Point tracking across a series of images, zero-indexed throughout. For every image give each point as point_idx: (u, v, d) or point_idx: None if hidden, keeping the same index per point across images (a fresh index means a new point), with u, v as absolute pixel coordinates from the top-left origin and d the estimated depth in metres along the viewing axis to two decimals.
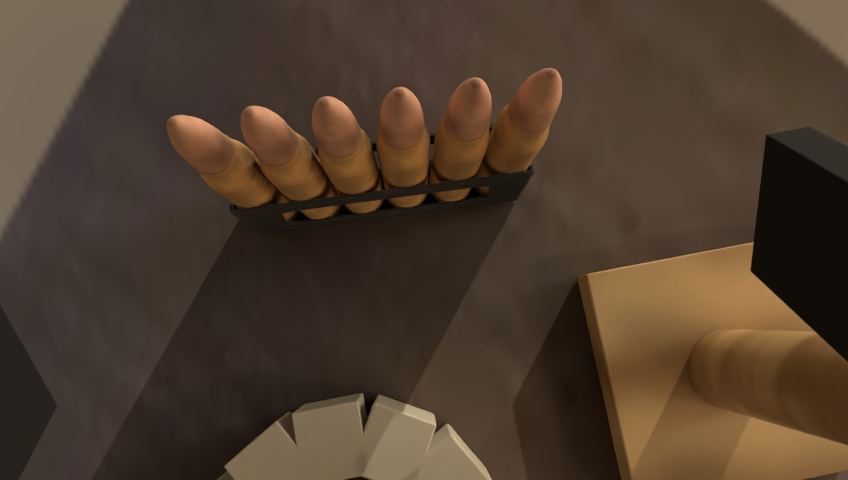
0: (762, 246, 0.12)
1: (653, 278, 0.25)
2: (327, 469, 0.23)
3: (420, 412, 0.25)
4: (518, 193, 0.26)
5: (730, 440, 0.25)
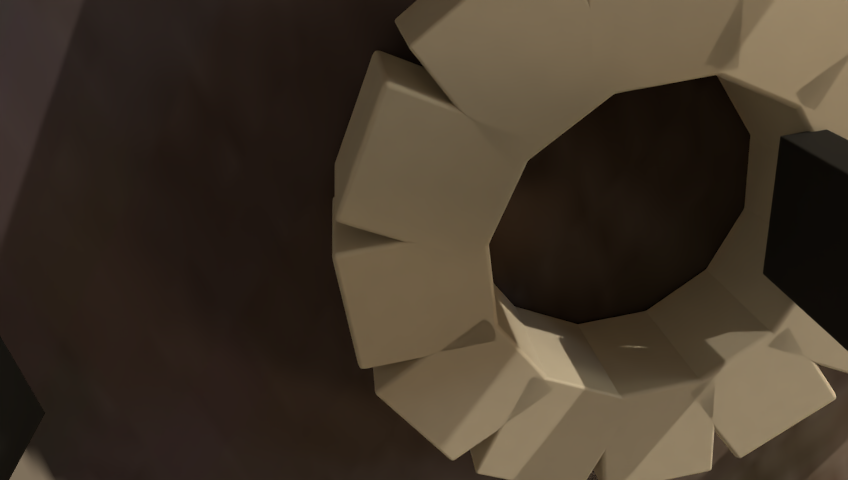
0: (775, 249, 0.12)
1: None
2: (650, 58, 0.10)
3: None
4: None
5: None
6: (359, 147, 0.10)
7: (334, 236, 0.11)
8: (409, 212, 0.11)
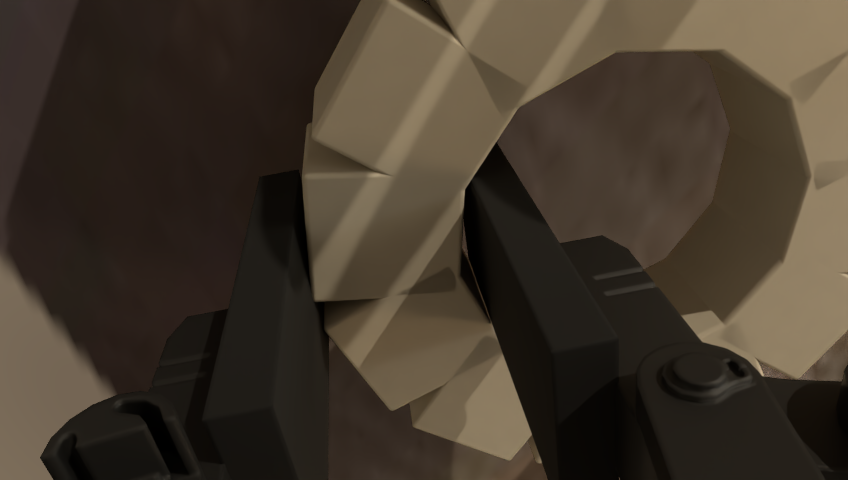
0: (467, 238, 0.13)
1: None
2: (657, 21, 0.10)
3: None
4: None
5: None
6: (349, 63, 0.10)
7: (306, 158, 0.11)
8: (390, 142, 0.10)
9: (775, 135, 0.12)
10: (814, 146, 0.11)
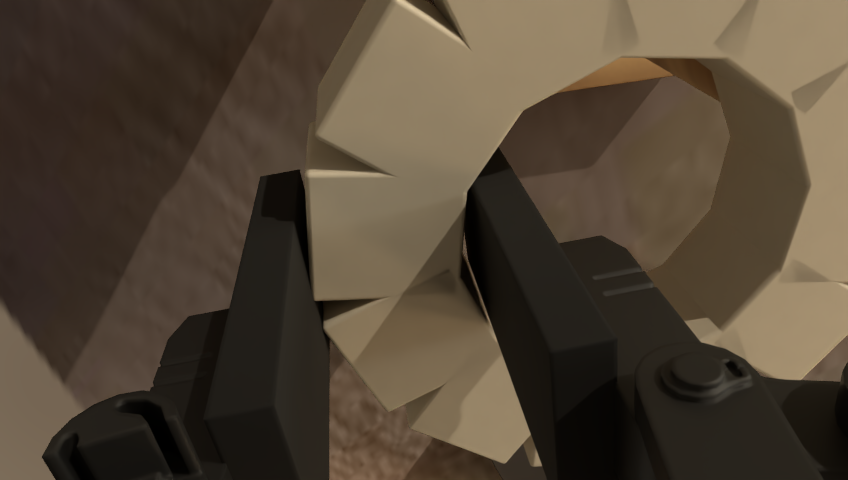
0: (467, 238, 0.13)
1: None
2: (663, 27, 0.10)
3: None
4: None
5: None
6: (355, 62, 0.10)
7: (308, 157, 0.11)
8: (393, 142, 0.10)
9: (775, 144, 0.12)
10: (814, 155, 0.11)
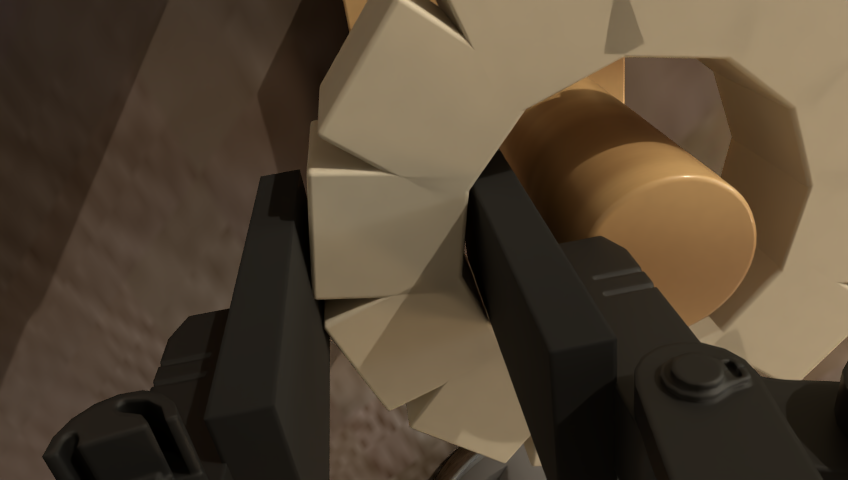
0: (466, 238, 0.13)
1: None
2: (665, 27, 0.10)
3: None
4: None
5: None
6: (357, 61, 0.10)
7: (310, 155, 0.11)
8: (396, 141, 0.10)
9: (777, 144, 0.12)
10: (816, 156, 0.11)
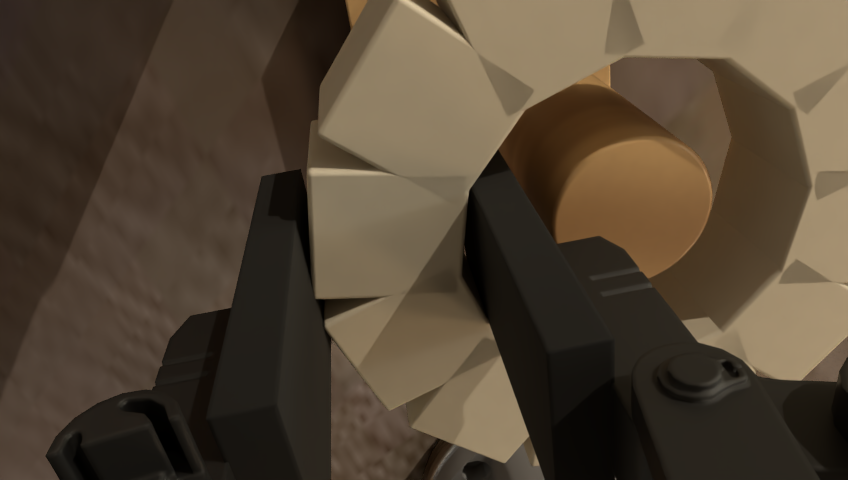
0: (465, 238, 0.13)
1: None
2: (665, 27, 0.10)
3: None
4: None
5: None
6: (357, 61, 0.10)
7: (311, 155, 0.11)
8: (396, 140, 0.10)
9: (777, 144, 0.12)
10: (816, 156, 0.11)
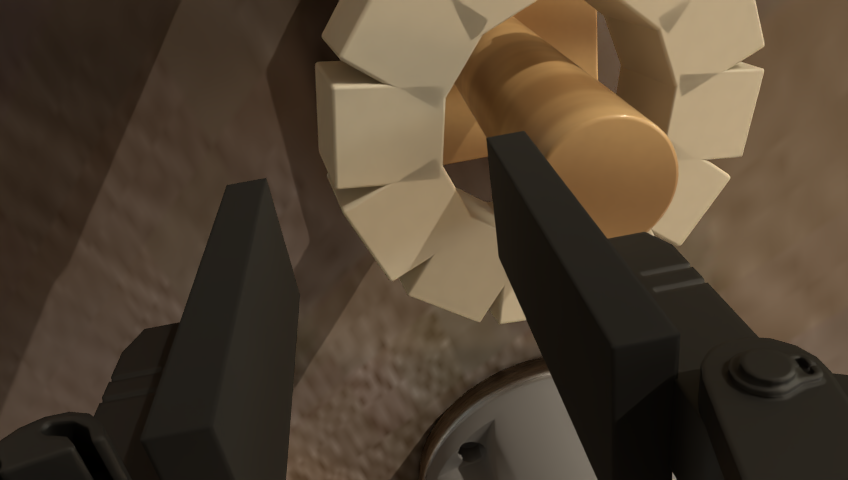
0: (498, 235, 0.13)
1: None
2: None
3: None
4: None
5: (472, 113, 0.26)
6: (366, 1, 0.14)
7: (328, 79, 0.15)
8: (394, 60, 0.14)
9: (652, 60, 0.17)
10: (677, 63, 0.16)
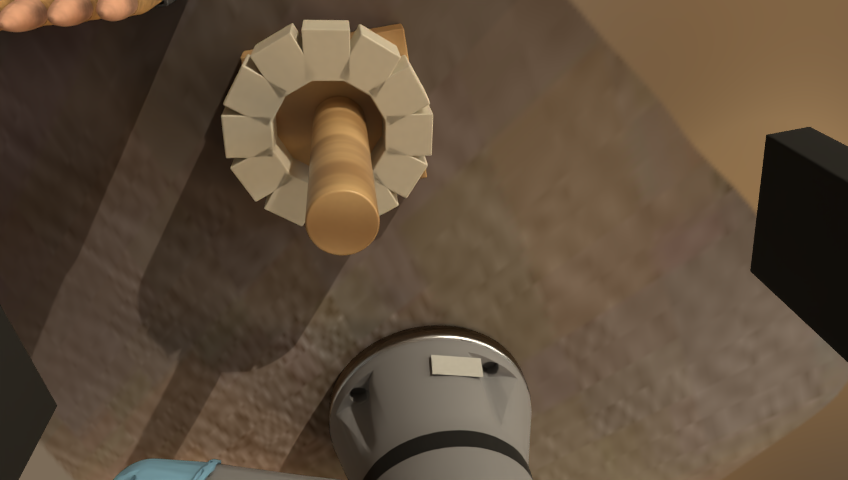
0: (762, 246, 0.12)
1: None
2: (322, 72, 0.34)
3: (389, 44, 0.35)
4: None
5: None
6: (233, 83, 0.34)
7: (223, 111, 0.35)
8: (246, 106, 0.34)
9: None
10: (383, 110, 0.35)
